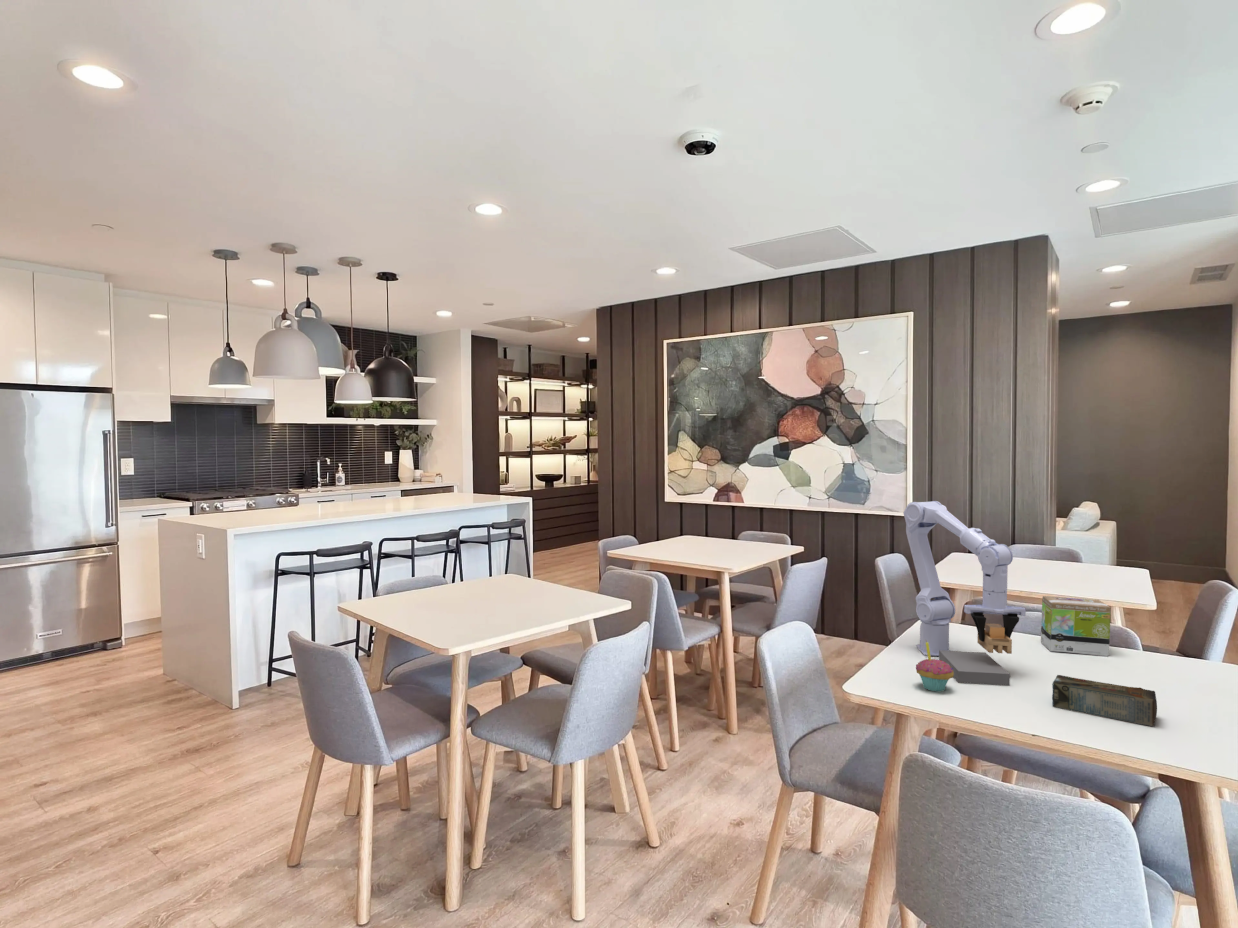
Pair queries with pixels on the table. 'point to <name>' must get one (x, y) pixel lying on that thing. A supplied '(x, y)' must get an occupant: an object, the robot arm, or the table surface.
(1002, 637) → the light brown block
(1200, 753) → the table surface
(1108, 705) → the beverage carton
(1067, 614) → the tea box
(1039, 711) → the table surface
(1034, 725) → the table surface
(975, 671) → the dock
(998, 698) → the table surface
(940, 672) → the cupcake
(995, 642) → the pallet
